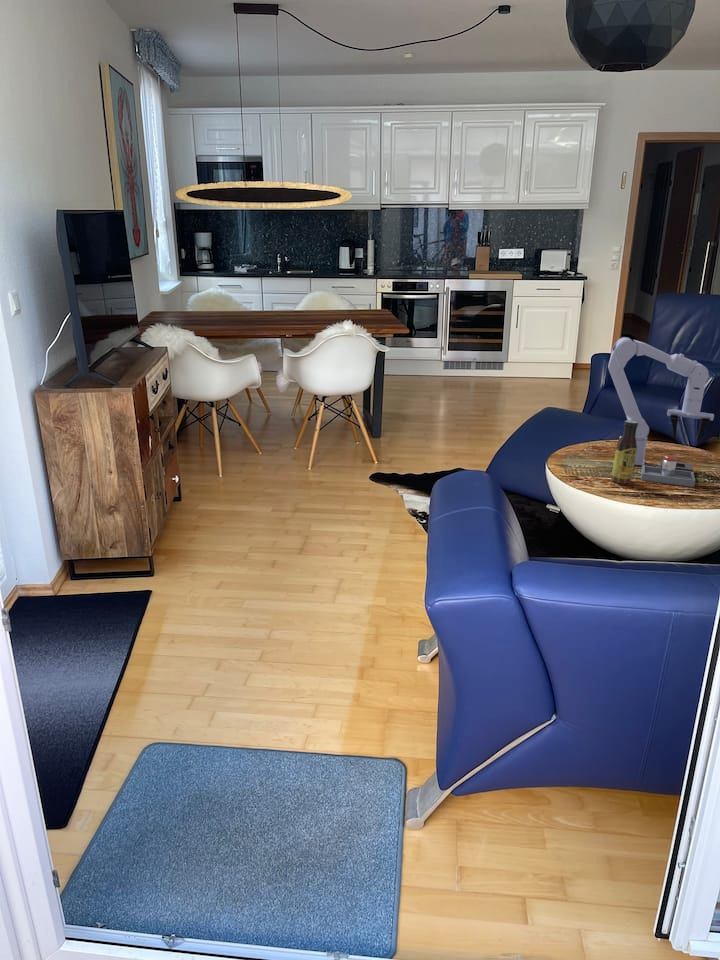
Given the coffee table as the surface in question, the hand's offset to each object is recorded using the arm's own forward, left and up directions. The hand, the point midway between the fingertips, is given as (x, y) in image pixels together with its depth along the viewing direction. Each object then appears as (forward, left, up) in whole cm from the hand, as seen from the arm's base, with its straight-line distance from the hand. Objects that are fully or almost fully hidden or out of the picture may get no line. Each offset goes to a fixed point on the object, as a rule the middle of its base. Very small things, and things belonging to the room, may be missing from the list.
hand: (686, 438), depth 251 cm
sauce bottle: (-19, -30, -11) cm, 37 cm away
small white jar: (-5, -19, -10) cm, 22 cm away
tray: (-5, -19, -10) cm, 22 cm away
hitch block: (-2, -8, -10) cm, 13 cm away
